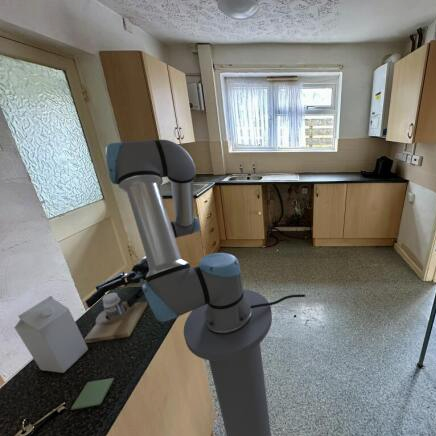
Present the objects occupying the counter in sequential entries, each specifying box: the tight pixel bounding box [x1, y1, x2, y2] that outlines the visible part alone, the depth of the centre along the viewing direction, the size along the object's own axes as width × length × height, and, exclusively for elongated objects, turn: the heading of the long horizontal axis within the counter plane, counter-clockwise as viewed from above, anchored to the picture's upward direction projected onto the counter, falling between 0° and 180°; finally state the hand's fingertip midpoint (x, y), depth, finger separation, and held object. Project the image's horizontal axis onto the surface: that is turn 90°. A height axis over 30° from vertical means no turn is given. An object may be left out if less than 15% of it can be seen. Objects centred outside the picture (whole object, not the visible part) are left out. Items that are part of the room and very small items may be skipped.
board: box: [83, 300, 149, 344], centre depth 78 cm, size 14×16×2 cm
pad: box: [70, 377, 115, 411], centre depth 56 cm, size 6×6×1 cm
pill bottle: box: [101, 292, 126, 320], centre depth 78 cm, size 5×5×8 cm
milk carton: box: [14, 295, 89, 374], centre depth 62 cm, size 7×7×19 cm
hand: (108, 304), depth 76 cm, fingers open, 13 cm apart
